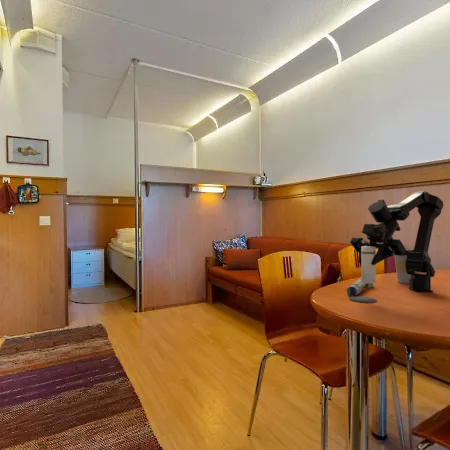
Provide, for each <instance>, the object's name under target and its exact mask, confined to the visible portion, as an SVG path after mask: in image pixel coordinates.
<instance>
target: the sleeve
mask: <svg viewBox="0 0 450 450" xmlns="http://www.w3.org/2000/svg"><path fill="white" fill-rule="evenodd" d="M376 250H377V249H376V247H373V246H361V265H360V267H361V271H360V272H361V275H360V278H361V282H364V283H373V284H376V283H377V277H376V276H377V275H376V274H377V273H376V272H377V271H376V269H377V267H376V265H377V264H375V265H372V264H371V263H372V260H373V258H374V256H375V255H376V253H377V251H376Z"/></svg>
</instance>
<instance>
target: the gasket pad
mask: <svg viewBox="0 0 450 450" xmlns="http://www.w3.org/2000/svg"><path fill="white" fill-rule="evenodd" d="M348 300H350V301H352V302H355V303H360V304H361V303H362V304H373V303H375V304H376V303H377V302H378V301H377V299H376V298H375V297H370V296H364V295H363V296H362V295H356V296H350V297H349V299H348Z"/></svg>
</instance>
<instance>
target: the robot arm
mask: <svg viewBox="0 0 450 450" xmlns="http://www.w3.org/2000/svg"><path fill="white" fill-rule="evenodd" d="M415 208H417V212H418V214H419V216H420V220H419V222H418V223H419V224H418V229H417V233H416V239H415V243H414V246H413V249H412V250H413V251H412V252H408V253H407V258H406V260H405V267H406V272H407V274H411V278H410V279H409V285H408V289H409V290H412V291H415V292H417V293H418V292H419V293H420V292H421V293H422V292H424V293H426V292H430V293H431V292H433V293H434V290H433V289H431V288H432V287H431V282H432V281H431V279H432V278H434V277H435V274H436V270H435V268H434V266H433V265H432V259H431V256H430V255H429V253H428V252H429V248H430V244H431V243H430V242H431V237H432V233H433V228H434V224H435V220H436V219H437V218H438V217H440V215H441V213H442V210H443V208H444V201H443V200H442V199H441V198H440V197H439V196H436V195H433V194H430V193H429V192H428V191H425V190H424V191H422V190H421V191H415V192H413V193H412V194H411V195H410V196H408V197H407V198H405V199H403V200H402V201H400V202H398V203H395V204H390V205H387V204H386V201H385V200H384V199H378V200H377V201H375V202H374V203H372V204H371V205H369V206H368V208H367V209H368V212H369V213H370V215H371V217H372V219H374V222H375V224H374V223H364V224H363V228H362V230H361V233H362V234H364V235H366V239H367V240H365V239H364V238H363V237H351V239H350V241H349V243H350V244H351V246H352V247H353V249H354V250H355V252H357V253H359V256H358V263H359V264H361V246H373V247H376V250H377V251H376V255H375V256H374V258H373V260H372V263H371V264H372V265H375V264H376V265H377V264H378V263H380V262H383V260H386V259H388V258H390V257H394V256H395V255H398V256H403V255H404V254H405V252H406V250H407V249H406V247H405V246H404V244H403V243H402V241H401V239H395V238H394V237H393V235H394V233H395V232H400V231H401V227H400V224H399V222H400V221H406V220H407V219H408V218H409V216H410V212H411V211H413V210H414V209H415ZM398 221H399V222H398ZM376 223H378V224H376ZM368 240H369V241H368ZM393 252H394V254H395V255H394V254H393Z"/></svg>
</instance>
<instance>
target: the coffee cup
mask: <svg viewBox="0 0 450 450" xmlns="http://www.w3.org/2000/svg"><path fill="white" fill-rule="evenodd" d="M413 250H414V249H406V252H405V254H404V255H403V256H398V255H395V254H394V252H393V256H394V262H395V271H396V278H397V282H398V283H399V284H409V279H410V278H411V274H407V272H406V267H405V260H406V258H407V253H408V252H412V251H413Z"/></svg>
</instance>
